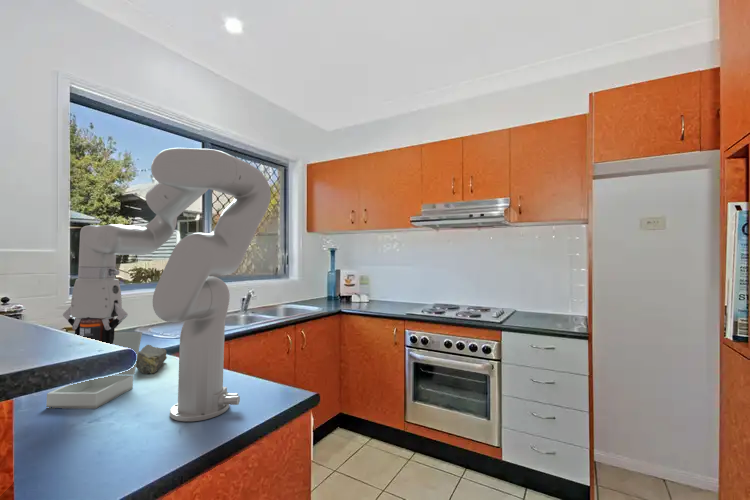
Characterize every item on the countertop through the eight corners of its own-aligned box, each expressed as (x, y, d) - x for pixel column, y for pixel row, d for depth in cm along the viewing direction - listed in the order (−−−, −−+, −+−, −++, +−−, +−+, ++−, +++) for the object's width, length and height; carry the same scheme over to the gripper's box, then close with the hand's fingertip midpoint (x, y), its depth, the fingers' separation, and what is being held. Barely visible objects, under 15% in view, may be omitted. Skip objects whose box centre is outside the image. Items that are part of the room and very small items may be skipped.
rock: (175, 357, 112) (138, 353, 107) (167, 379, 111) (130, 376, 106) (168, 344, 126) (136, 340, 121) (162, 363, 125) (129, 360, 120)
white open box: (140, 383, 101) (142, 331, 102) (95, 408, 84) (97, 346, 85) (99, 383, 101) (101, 331, 101) (46, 408, 84) (48, 345, 85)
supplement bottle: (107, 350, 96) (109, 307, 96) (109, 354, 91) (111, 310, 91) (78, 353, 92) (80, 309, 92) (78, 358, 87) (80, 312, 87)
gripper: (140, 274, 96) (137, 341, 95) (74, 272, 95) (71, 340, 95) (121, 275, 88) (118, 348, 88) (50, 273, 88) (46, 347, 87)
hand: (94, 343), depth 91 cm, fingers closed on supplement bottle, 6 cm apart
